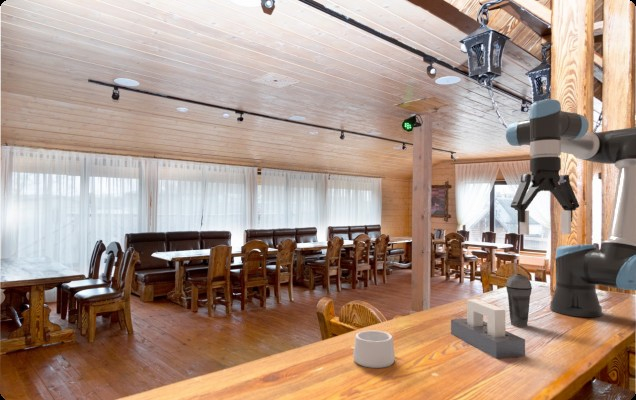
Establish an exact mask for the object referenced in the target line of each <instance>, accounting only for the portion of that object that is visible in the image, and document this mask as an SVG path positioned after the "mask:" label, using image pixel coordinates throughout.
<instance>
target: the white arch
mask: <svg viewBox="0 0 636 400" xmlns="http://www.w3.org/2000/svg"><path fill="white" fill-rule="evenodd" d="M484 317H486V320H487V321H486V322H487V334H488V335H490V336H492V337H503V336H505V331H506V309H505V308H501V307H500V306H497V305H494V304H490V303H488V302H485V301H482V300H480V299H477V298H476V299H475V298H472V299H471V298H470V299H467V300H466V318H467V324H468V325H470V326H472V327H477V326H483V321H484Z"/></svg>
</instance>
